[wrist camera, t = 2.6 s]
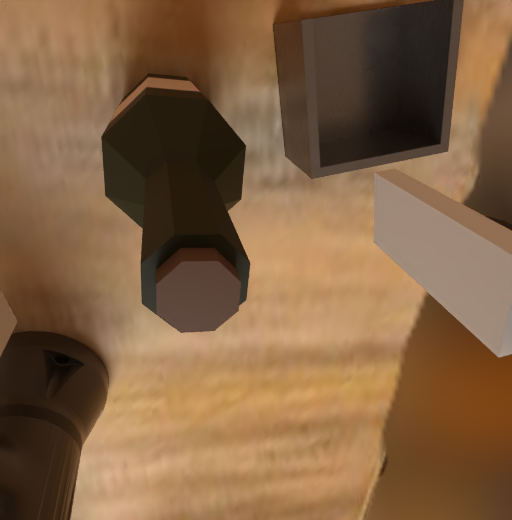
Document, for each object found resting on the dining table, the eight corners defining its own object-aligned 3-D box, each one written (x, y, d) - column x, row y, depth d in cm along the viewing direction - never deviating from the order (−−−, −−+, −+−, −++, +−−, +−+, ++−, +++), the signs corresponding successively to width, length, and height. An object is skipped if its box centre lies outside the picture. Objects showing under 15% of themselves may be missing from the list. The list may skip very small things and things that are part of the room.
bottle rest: (285, 156, 41) (311, 178, 34) (272, 24, 35) (301, 20, 29) (400, 134, 43) (448, 151, 36) (406, 4, 37) (463, -5, 30)
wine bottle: (102, 89, 35) (-44, 219, 9) (194, 58, 35) (305, 96, 9) (143, 178, 39) (123, 442, 13) (224, 149, 40) (359, 350, 14)
